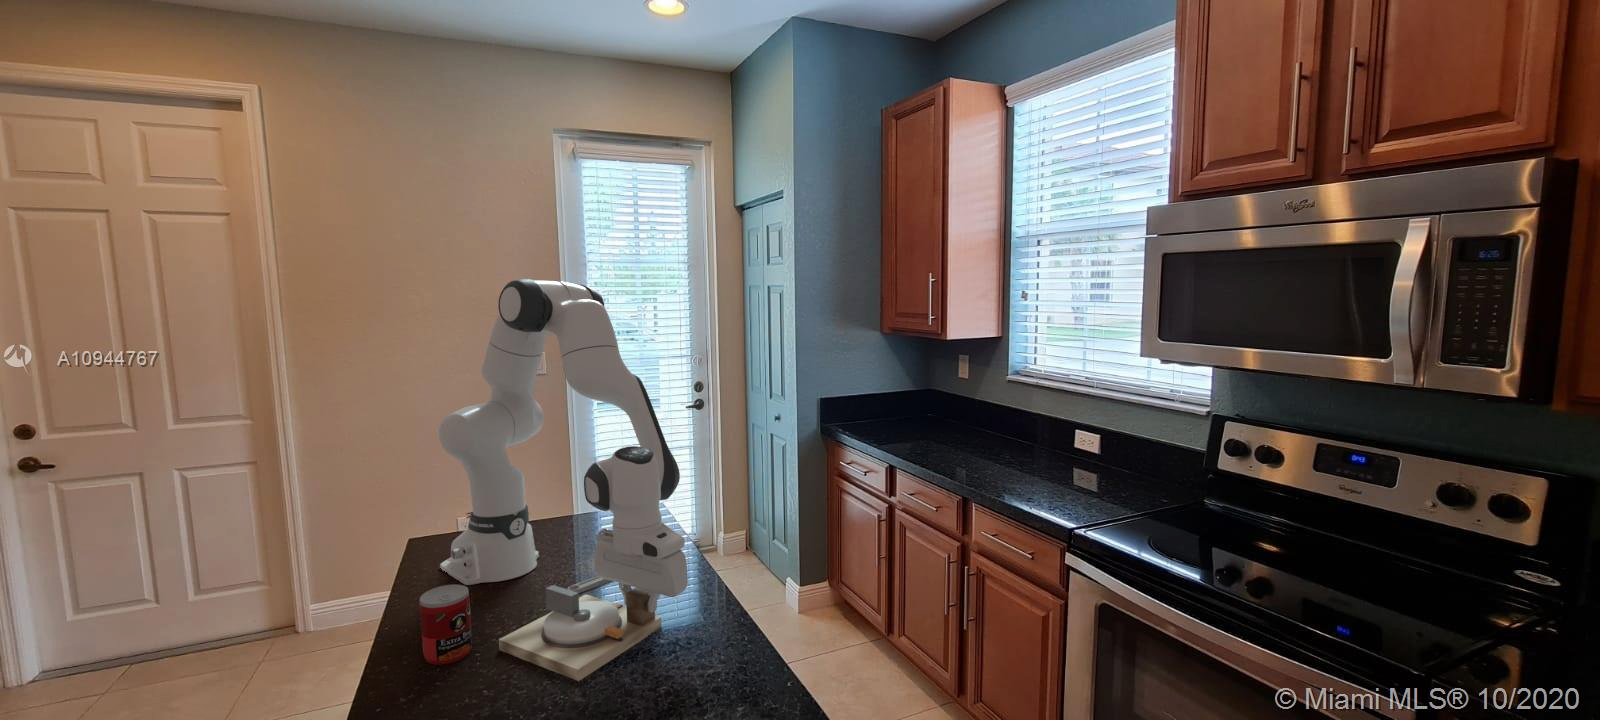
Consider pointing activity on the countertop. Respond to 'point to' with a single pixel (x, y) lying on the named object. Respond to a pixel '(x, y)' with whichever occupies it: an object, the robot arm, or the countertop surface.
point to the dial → (578, 618)
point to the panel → (574, 645)
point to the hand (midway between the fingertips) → (640, 607)
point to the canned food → (446, 624)
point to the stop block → (638, 607)
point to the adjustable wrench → (588, 584)
